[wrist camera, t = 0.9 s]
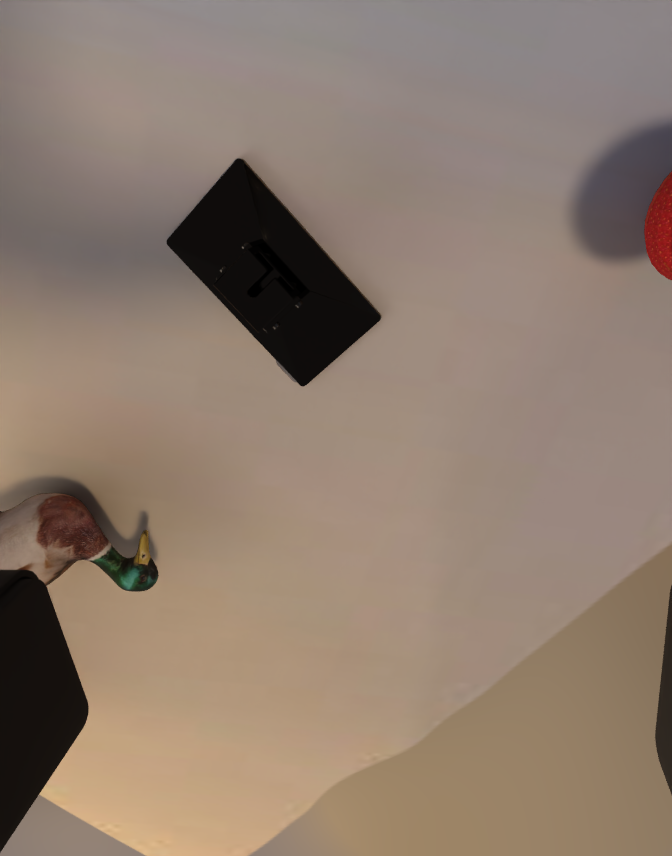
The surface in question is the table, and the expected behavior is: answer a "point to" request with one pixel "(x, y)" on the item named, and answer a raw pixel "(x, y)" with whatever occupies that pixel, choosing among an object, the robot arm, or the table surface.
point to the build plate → (272, 274)
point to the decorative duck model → (67, 543)
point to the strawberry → (660, 229)
